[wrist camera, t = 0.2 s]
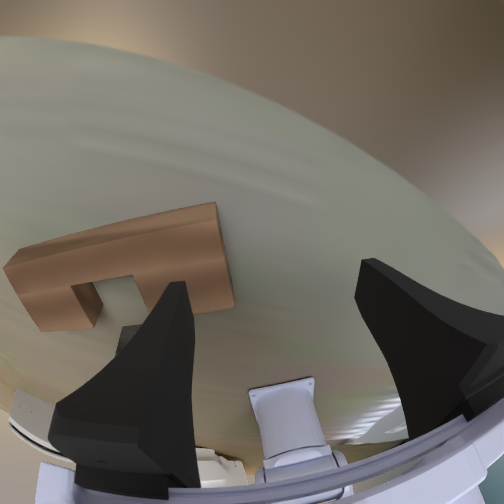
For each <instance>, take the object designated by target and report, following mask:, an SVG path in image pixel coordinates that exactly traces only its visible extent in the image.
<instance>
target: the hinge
mask: <svg viewBox="0 0 504 504" xmlns="http://www.w3.org/2000/svg"><path fill="white" fill-rule="evenodd" d="M54 409H55V406H54V405H52V404H50V403H48V402H45V401H43V400H41V399H39V398H37V397H35V396H33V395H31V394H29V393H27V392H25V391H23V390H21V389H19V388H16V391H15V394H14V397H13V401H12V404H11V408H10V412H9V416H8V419H9V425H10V428H11V430H12V431H13V432H14V433H15V434H16V435H17V436H18V437H19V438H20V439H22V440H23V441H24V442H26V443H27V444H29V445H30V446H32V447H33V448H35V449H37V450H38V451H40V452H42V453H44V454H47V455H49V456H51V457H54V458H57V459H60V460H63V461H67V462H72V463H74V462H73V461H71V460H70V459H69V458H67V457H66V456H64V455H63V454H61V453H60V452H59V451H57V450H56V449H55V448H54V447H53V446H52V445H51V444H50V442H49V441H48V432H49V428H50V424H51V420H52V416H53V412H54Z"/></svg>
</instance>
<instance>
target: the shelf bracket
mask: <svg viewBox="0 0 504 504" xmlns="http://www.w3.org/2000/svg"><path fill="white" fill-rule="evenodd" d="M214 452H215V451H214V450H212V449H204V448H196V456H197V463H198V470H199V476H200V482H201V488H216V487H232V486H243V485H249V484H248V481H247V477H246V474H245V471H244V467H243V464H242V462H241V461H227V460H226V459H225V458H223V457H222V456H217V455H216V454H215V453H214Z"/></svg>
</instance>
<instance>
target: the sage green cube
mask: <svg viewBox="0 0 504 504" xmlns="http://www.w3.org/2000/svg"><path fill="white" fill-rule="evenodd" d="M141 325H142V324H141ZM141 325H133V326H125V327H122V331H121V334H120V338H119V342H118V346H117V350H116V354H115V357H116V356H117V355H118V354H119V353H120V351H121V350H122V349H123V348H124V347H125V346H126V345H127V343H128V342H129V341H130V340H131V339H132V337H133V336H134V335H135V334H136V332H137V331H138V329H139V328H140V327H141Z"/></svg>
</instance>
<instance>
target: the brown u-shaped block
mask: <svg viewBox="0 0 504 504" xmlns="http://www.w3.org/2000/svg"><path fill="white" fill-rule="evenodd" d="M3 270H4V272H5V274H6V276H7V278H8V279H9V281H10V283H11V285H12V287H13V288H14V290H15V292H16V294H17V295H18V297H19V299H20V300H21V302H22V304H23V305H24V307H25V308H26V310H27V312H28V313H29V315H30V316H31V318H32V319H33V321H34V322H35V324H36V325H37V327H38V328H39V330H40V331H41V332H53V331H65V330H76V329H86V328H94V326H95V324H96V321H97V318H98V315H99V313H100V310H101V308H102V305H103V303H102V301H101V299H100V298H99V296H98V294H97V292H96V290H95V288H94V286H93V284H92V282H93V281H99V280H104V279H110V278H115V277H121V276H127V275H132V274H133V277H134V279H135V281H136V284H137V286H138V288H139V291H140V293H141V295H142V298H143V300H144V302H145V304H146V306H147V309H148V311H149V313H150V312H151V311H152V309H153V308H154V306H155V305H156V303H157V302H158V300H159V298H160V297H161V295H162V294H163V292H164V290H165V289H166V287H167V285H168V284H169V283H170V282H177V281H185V282H186V287H187V291H188V295H189V300H190V304H191V308H192V313H193V315H194V314H200V313H206V312H213V311H219V310H224V309H230V308H235V301H234V294H233V286H232V280H231V275H230V271H229V266H228V261H227V257H226V252H225V247H224V242H223V237H222V232H221V227H220V222H219V217H218V212H217V207H216V202H211V203H206V204H201V205H196V206H191V207H186V208H181V209H176V210H171V211H166V212H162V213H157V214H152V215H148V216H144V217H139V218H135V219H130V220H126V221H122V222H118V223H114V224H110V225H106V226H101V227H98V228H94V229H90V230H86V231H82V232H78V233H75V234H71V235H67V236H63V237H60V238H56V239H53V240H49V241H46V242H42V243H39V244H36V245H32V246H29V247H26V248H22V249H19V250H18V251H17V252H16V254H15V255H14V256H13V257H12V258H11V259H10V260H9V262H8V263H7V264H6V265H5V266H4V267H3Z"/></svg>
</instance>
